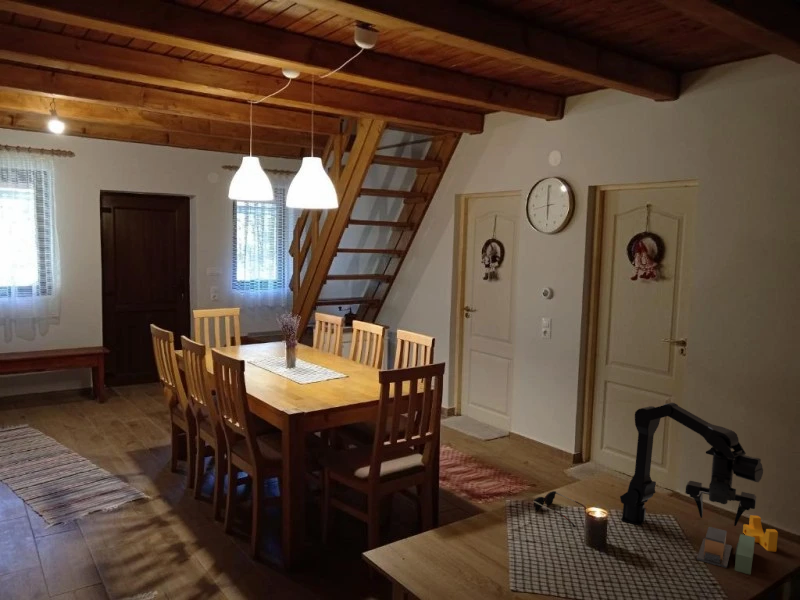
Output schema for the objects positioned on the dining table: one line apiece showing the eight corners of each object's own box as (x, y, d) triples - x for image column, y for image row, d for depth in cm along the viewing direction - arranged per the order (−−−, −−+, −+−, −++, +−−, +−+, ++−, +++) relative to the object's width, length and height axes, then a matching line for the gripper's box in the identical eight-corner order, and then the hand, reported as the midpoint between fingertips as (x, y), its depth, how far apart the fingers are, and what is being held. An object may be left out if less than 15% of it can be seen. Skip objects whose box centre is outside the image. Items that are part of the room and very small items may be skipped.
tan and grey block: (703, 554, 186) (705, 537, 185) (707, 543, 193) (708, 526, 193) (722, 559, 183) (724, 541, 183) (725, 548, 191) (726, 530, 190)
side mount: (696, 559, 184) (697, 551, 184) (703, 540, 197) (704, 532, 197) (726, 568, 180) (727, 559, 179) (731, 547, 193) (732, 539, 193)
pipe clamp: (742, 533, 204) (744, 514, 203) (756, 534, 204) (758, 515, 203) (761, 551, 192) (763, 531, 191) (776, 552, 192) (778, 532, 191)
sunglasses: (553, 503, 223) (554, 490, 222) (593, 521, 211) (595, 507, 211) (531, 513, 213) (533, 499, 212) (572, 532, 202) (574, 518, 201)
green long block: (733, 569, 179) (734, 553, 178) (737, 548, 192) (738, 533, 192) (750, 574, 176) (751, 558, 176) (753, 553, 190) (755, 537, 189)
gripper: (684, 471, 185) (680, 522, 186) (756, 486, 174) (751, 540, 176) (690, 462, 194) (686, 510, 195) (758, 475, 184) (753, 526, 185)
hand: (718, 521), depth 187 cm, fingers open, 9 cm apart
